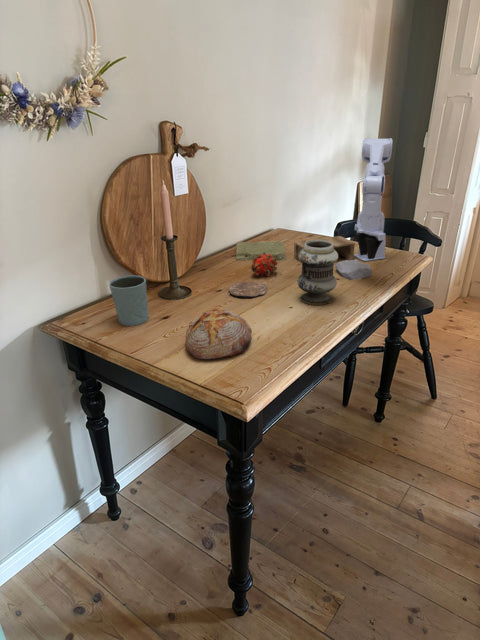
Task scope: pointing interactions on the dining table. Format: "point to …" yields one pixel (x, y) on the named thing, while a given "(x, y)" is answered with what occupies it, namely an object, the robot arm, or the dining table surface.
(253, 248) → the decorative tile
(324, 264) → the apothecary jar
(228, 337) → the bread
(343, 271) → the stone block
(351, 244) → the oak shelf
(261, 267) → the dragon fruit
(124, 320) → the teal cup
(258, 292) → the shell
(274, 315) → the dining table surface
